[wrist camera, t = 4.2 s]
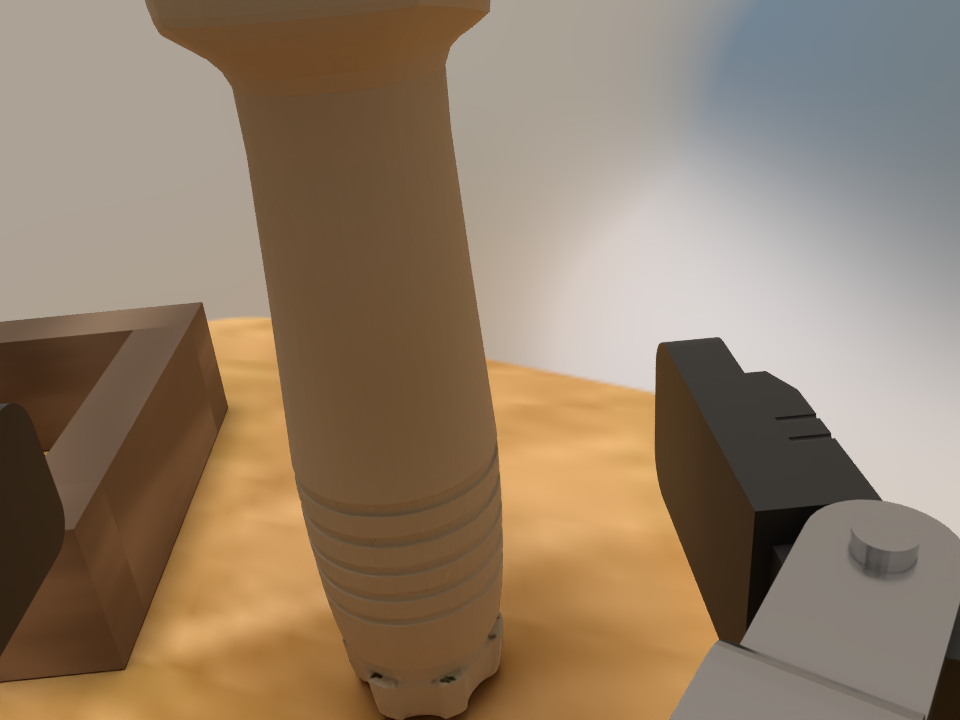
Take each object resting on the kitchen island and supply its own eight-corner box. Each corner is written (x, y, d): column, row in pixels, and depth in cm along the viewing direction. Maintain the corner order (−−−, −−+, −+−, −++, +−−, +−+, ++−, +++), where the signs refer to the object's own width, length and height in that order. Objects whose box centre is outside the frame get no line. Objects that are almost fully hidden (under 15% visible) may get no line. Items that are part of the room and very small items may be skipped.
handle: (289, 806, 17) (49, -71, 10) (344, 576, 22) (215, -81, 16) (543, 798, 16) (477, -111, 10) (535, 568, 22) (488, -106, 15)
